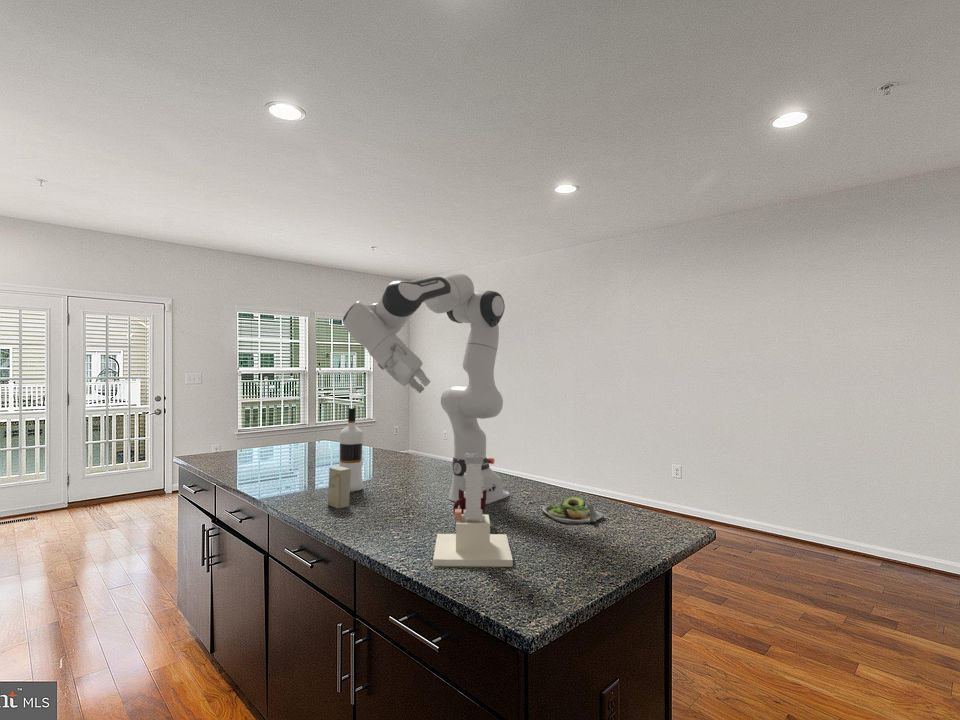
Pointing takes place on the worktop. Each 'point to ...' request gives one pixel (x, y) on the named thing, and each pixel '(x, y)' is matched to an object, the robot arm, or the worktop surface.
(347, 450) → the vodka
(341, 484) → the skincare box
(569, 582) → the worktop surface
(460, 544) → the stand
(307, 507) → the worktop surface
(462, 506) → the mug
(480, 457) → the column
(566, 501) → the salad plate
